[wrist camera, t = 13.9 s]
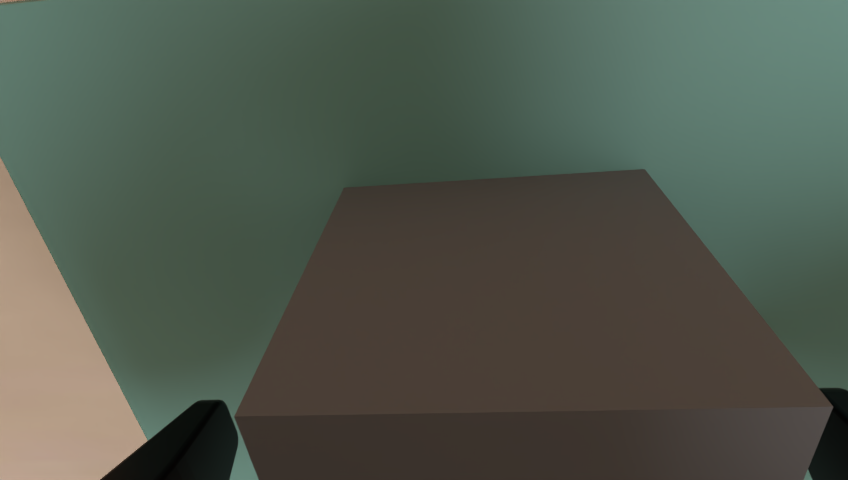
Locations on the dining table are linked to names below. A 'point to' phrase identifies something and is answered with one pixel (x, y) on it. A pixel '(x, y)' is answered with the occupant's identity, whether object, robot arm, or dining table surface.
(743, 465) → the block
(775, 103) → the lid
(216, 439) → the robot arm
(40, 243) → the dining table surface
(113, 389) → the dining table surface
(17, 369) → the dining table surface
